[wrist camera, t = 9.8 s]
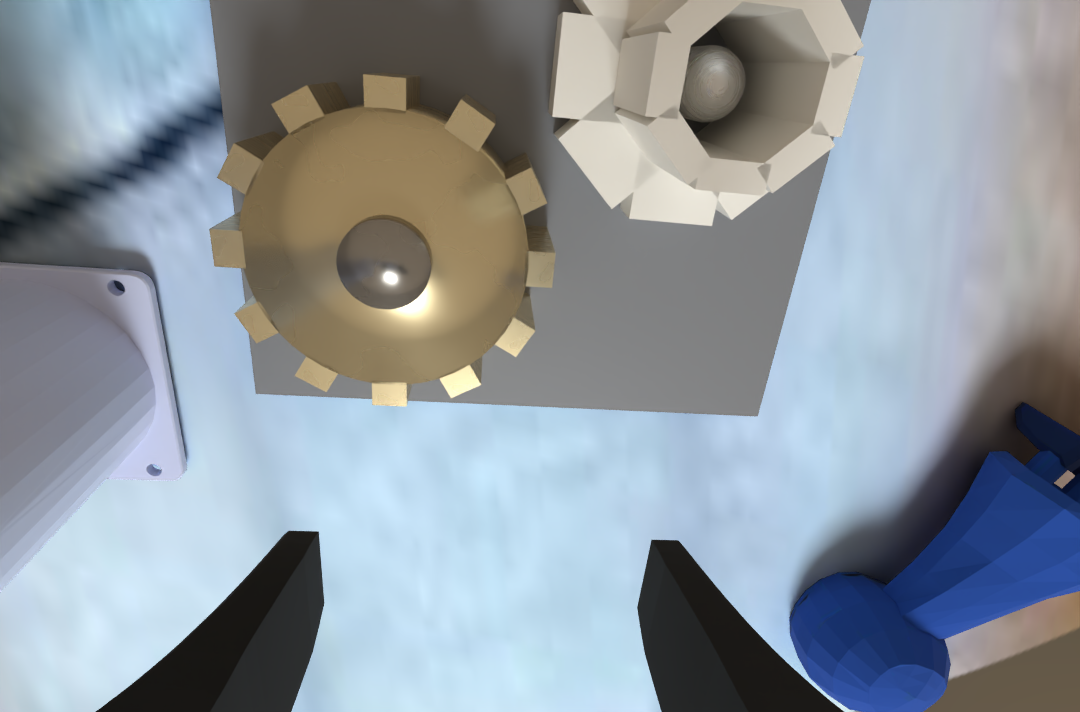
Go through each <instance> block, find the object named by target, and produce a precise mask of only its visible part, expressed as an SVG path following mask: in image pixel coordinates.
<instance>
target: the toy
mask: <svg viewBox="0 0 1080 712" xmlns="http://www.w3.org/2000/svg"><path fill="white" fill-rule="evenodd" d="M1015 415H1016V423H1017V428H1018V429H1019V430H1020V431H1021V432H1022V433H1023V434H1024V435H1025V436H1026V437H1027V438H1028V439H1029V440H1030V441H1031V442H1032V443H1033V444H1034V446H1035V447H1036V448H1037V449H1039V450H1040V451H1039V452H1038V453H1037V454H1036V455H1035V456H1034V457H1033V458H1032V459H1031V460H1030V461H1029V462H1028V463H1027V464H1026V465H1025V466H1024V465H1023V464H1022V463H1020V462H1019V461H1018V460H1017V459H1016V458H1014V457H1013V456H1012V455H1011V454H1010V453H1009V452H1007V451H996V452H989V454H988V456H987V458H986V460H985V461H984V463H983V465H982V467H981V469H980V471H979V473H978V474H977V476H976V478H975V480H974V482H973V484H972V486H971V488H970V489H969V491H968V493H967V495H966V496H965V498H964V499H963V501H962V502H961V504H960V505H959V506H958V508H957V509H956V511H955V512H954V514H953V515H952V517H951V518H950V520H949V521H948V523H947V524H946V526H945V527H944V528H943V529H942V530H941V531H940V533H939V534H938V535H937V536H936V537H935V538H934V539H933V540H932V541H931V542H930V543H929V544H928V546H927V547H926V548H925V549H924V550H923V551H922V552H921V553H920V554H919V555H918V556H917V557H916V559H915V560H914V561H913V562H912V563H911V564H910V565H908V566H907V567H906V568H905V569H904V570H903V571H902V572H901V573H899V574H898V575H897V576H896V577H895V578H894V579H893V580H892V581H891V582H889V583H888V584H887V585H886V584H885V583H883V582H881V581H878V580H876V579H873V578H871V577H868V576H866V575H864V574H861V573H859V572H844V573H836V574H833V575H831V576H828V577H825V578H823V579H820V580H819V581H818V582H816V583H815V584H814V585H812V586H811V587H810V588H808V589H807V590H806V591H805V592H804V593H803V595H802V596H801V597H800V599H799V600H798V602H797V603H796V604H795V607H794V609H793V612H792V614H791V617H790V636H791V639H792V642H793V644H794V647H795V650H796V653H797V656H798V658H799V660H800V661H801V663H802V665H803V667H804V669H805V670H806V672H807V674H808V676H809V677H810V678H811V679H812V680H813V681H814V682H815V683H816V684H817V685H818V686H819V687H820V688H821V689H822V690H823V691H824V692H826V693H827V694H828V695H829V696H831V697H832V698H834V699H835V700H837V701H838V702H839V703H841V704H842V705H844V706H845V707H847V708H848V709H850V710H856V711H862V712H923V711H924V710H926V709H927V708H929V707H930V706H931V705H933V704H934V703H935V702H936V701H937V700H938V699H939V698H940V697H941V696H942V695H943V693H944V691H945V689H946V687H947V682H948V676H949V671H950V665H951V663H950V659H949V654H948V649H947V646H946V643H945V640H944V639H946V638H948V637H951V636H953V635H956V634H959V633H961V632H964V631H966V630H969V629H971V628H974V627H976V626H979V625H981V624H984V623H986V622H989V621H991V620H994V619H997V618H999V617H1002V616H1004V615H1007V614H1009V613H1012V612H1015V611H1017V610H1020V609H1022V608H1025V607H1027V606H1030V605H1033V604H1035V603H1038V602H1040V601H1043V600H1046V599H1049V598H1053V597H1057V596H1061V595H1065V594H1069V593H1073V592H1078V591H1080V436H1079V435H1077V434H1075V433H1074V432H1072V431H1071V430H1069V429H1067V428H1066V427H1064V426H1062V425H1061V424H1059V423H1057V422H1056V421H1054V420H1052V419H1051V418H1049V417H1047V416H1046V415H1044V414H1043V413H1041V412H1039V411H1038V410H1036V409H1034V408H1033V407H1031V406H1029V405H1028V404H1026V403H1024V402H1023V403H1022V404H1021V405H1020V406H1019V407H1018V408H1016V409H1015ZM1067 470H1069V471H1070V472H1072V473H1073V474H1074V475H1075V477H1074V478H1073V479H1072V480H1071V481H1070V482H1069V483H1068V484H1066V485H1065V486H1064V487H1063V488H1062V489H1061V488H1060V487H1059V486H1057V485H1056V484H1054V482H1055V481H1056V480H1057V479H1059V478H1060V477H1061V476H1062V475H1063V474H1064V473H1065V472H1066V471H1067Z"/></svg>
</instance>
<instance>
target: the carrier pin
mask: <svg viewBox="0 0 1080 712" xmlns="http://www.w3.org/2000/svg"><path fill="white" fill-rule="evenodd" d="M744 88H745V72H744V68H743V65H742V63H741V61H740V60H739V58H738V57H737V56H736V55H735V54H734V53H733V52H732V51H730V50H729V49H727V48H725V47H722V46H717V45H706V46H695V47H690V53H689V58H688V64H687V69H686V74H685V80H684V85H683V91H682V96H681V102H680V107H679V112H680V113H681V115H682V116H683V118H686V119H690V120H693V121H697V122H713V121H716V120H719V119H721V118H723V117H725V116H726V115H728V114H729V113H730V112H731V111H732V110H733V109H734V108H735V107H736V106H737V104H738V103H739V101H740V99H741V97H742V95H743V92H744Z"/></svg>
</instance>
